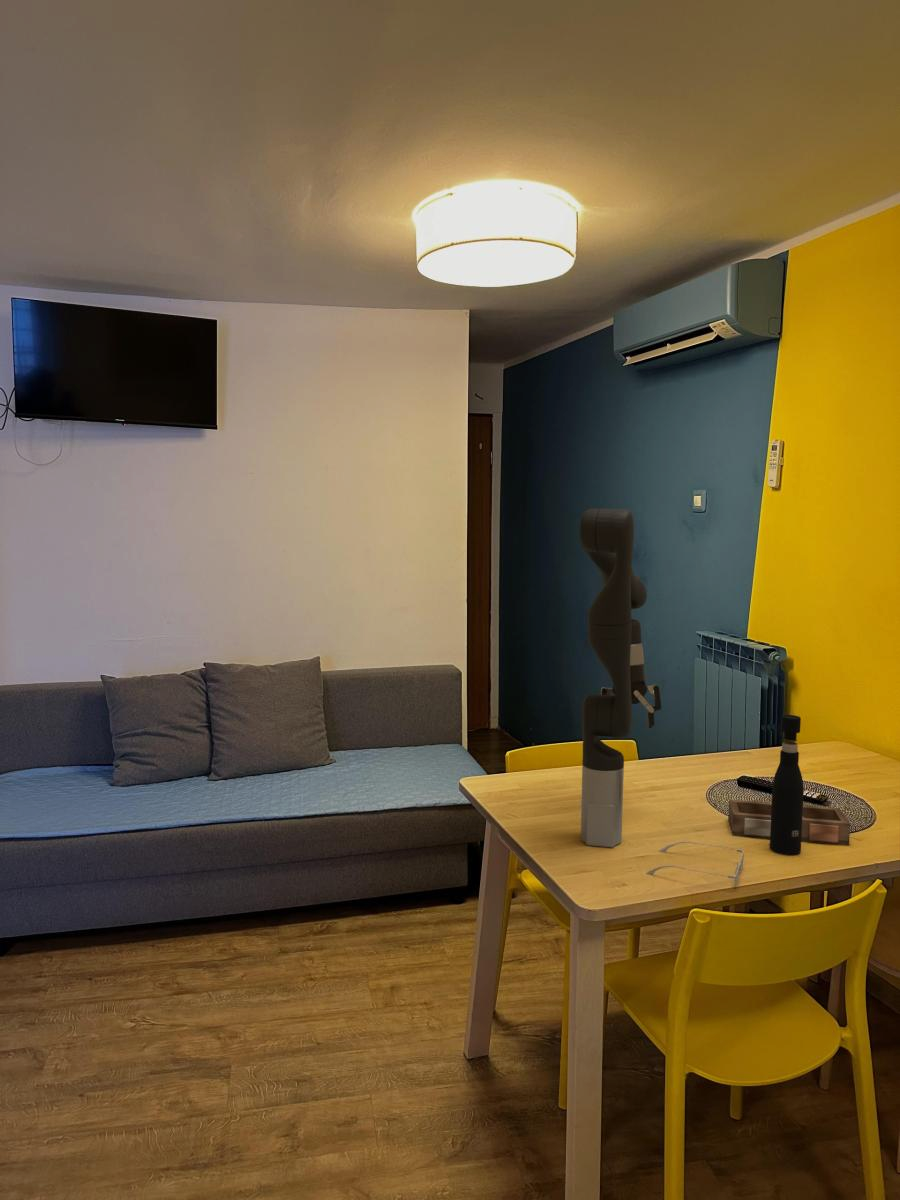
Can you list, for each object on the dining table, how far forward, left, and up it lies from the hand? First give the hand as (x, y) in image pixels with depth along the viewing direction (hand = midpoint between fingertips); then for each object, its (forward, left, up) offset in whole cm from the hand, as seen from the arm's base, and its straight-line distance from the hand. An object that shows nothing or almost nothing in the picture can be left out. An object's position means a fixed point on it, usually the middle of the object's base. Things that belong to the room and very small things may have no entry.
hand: (632, 728), depth 209 cm
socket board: (-2, -36, -22) cm, 42 cm away
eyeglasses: (-30, -14, -23) cm, 40 cm away
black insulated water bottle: (-14, -34, -22) cm, 43 cm away
